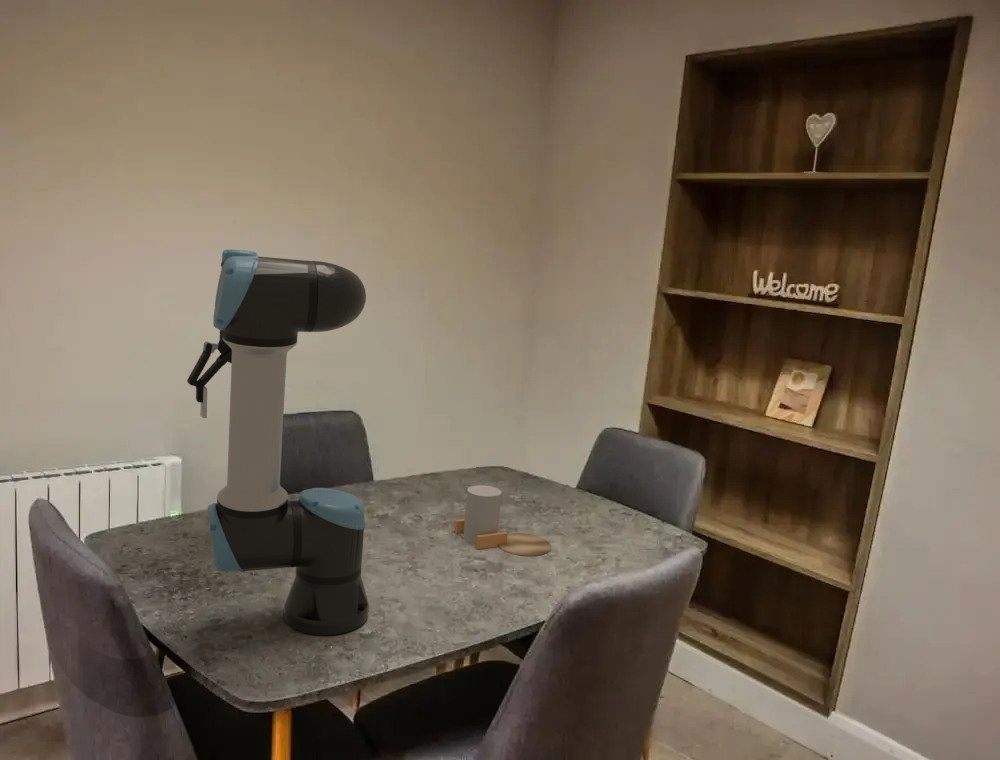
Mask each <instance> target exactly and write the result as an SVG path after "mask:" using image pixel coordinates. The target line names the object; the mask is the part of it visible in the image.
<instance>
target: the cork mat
mask: <svg viewBox="0 0 1000 760" xmlns="http://www.w3.org/2000/svg"><path fill="white" fill-rule="evenodd" d="M498 548H499V549H500V550H501V551H504V552H506V553H509V554H512V555H515V556H522V557H538V556H542V555H546V554H548V553H549V552H551V549H552V545H551V543H550V542H549V541H548V540H547V539H545V538H543V537H541V536H538V535H534V534H530V533H521V532H517V533H516V532H515V533H514V532H512V533H508V537H507V544H501V545H498Z"/></svg>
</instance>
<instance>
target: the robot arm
mask: <svg viewBox="0 0 1000 760" xmlns="http://www.w3.org/2000/svg"><path fill="white" fill-rule="evenodd" d="M220 267H221V270H220V274H219V279H218V283H217V287H216V288H217V289H216V294H215V295H216V296H215V301H214V311H213V324H212V325H213V327H214V328H215V329H217V330H219V341H218V343H211V342H209V341H205V342H204V344H203V349H202V353H200V356H199V357H198V359H197V362H196V364H195V365H194V367H193V369H192V371H191V372H190V374H189V376H188V378H187V380H186V382H187V383H188V384H189V386H192V387H195V400H196V402H197V403H200V417H202V419H207V418H208V417H207V415H208V388H207V387H206V385H207V384H208V383H209V382H210V381H211V379H213V377H214V376H215V375H216V374H217V373H218V372H219V371H220V369H222V368H223V366H225V365H226V364H227V363H230V364H231V367H230V369H231V371H230V395H229V398H230V399H229V423H228V449H227V450H228V452H227V453H228V454H227V477H226V478H227V479H226V485H225V486H224V487H223V488H222V489H220V490H219V491H218V493H217V497H216V502H215V503H214V502H213V503H212V504H209V505H208V506H207V514H208V523H209V530H210V541H211V549H212V556H213V563H214V564H213V565H214V566H215V569H217V570H218V571H220V572H223V573H229V572H234V573H236V572H240V573H245V572H250V571H251V572H252V571H262V570H265V571H266V570H274V569H275V570H276V569H288V568H289V569H290V568H295V577H294V579H293V582H292V585H291V586H290V590H289V593H288V595H287V597H286V599H285V603H284V610H283V612H284V613H283V619H284V621H285V623H286V624H287V625H288V626H289V627H291V629H294V630H295V631H297V632H300V633H303V634H308V635H314V636H331V635H332V636H334V635H335V636H336V635H340V634H345V633H349V632H352V631H354V630H356V629H358V628H360V627H361V626H363V625H364V624H365V623H366V622H367V619H368V618H369V606H370V605H369V599H368V596H367V593H366V589H365V586H364V582H363V579H362V566H363V565H362V564H363V549H364V548H363V547H364V532H365V528H366V522H365V520H366V519H365V507H364V504H363V502H362V501H361V499H360V498H358V497H356V496H355V495H353V494H351V493H348V492H346V491H343V490H339V489H335V488H328V487H327V488H326V487H312V488H309V489H304V490H302V491H301V492H300V493H299V496H298V497H297V499H295V500H289V493H288V491H286V489H284V488H283V487H282V486H281V484H280V483H281V465H282V464H281V463H282V449H283V447H282V446H283V432H284V431H283V427H284V414H285V413H284V410H285V394H286V393H285V391H286V390H285V389H286V373H287V357H288V352H289V351H291V349H293V348H294V347H296V345H298V333H303V332H304V333H320V332H321V333H322V332H329V331H334V330H338V329H340V328H341V329H342V328H343V327H344V326H345V327H346V326H347V325H349V324H351V323H352V322H354V321H355V320H357V318H358V317H359V316H360V315H361V314H362V312H363V311H364V308H365V306H366V305H365V304H366V301H367V293H366V287H365V285H364V283H363V281H362V280H361V279H360V277H359V276H358V275H357V274H355V273H354V271H352V270H351V269H348V268H346V267H343V266H340V265H338V264H334V263H330V262H325V261H321V260H320V261H318V260H302V259H293V258H292V259H290V258H281V257H269V256H259V255H258V253H257V252H256V251H254V250H253V251H252V250H245V249H229V248H228V249H227V248H226V249H224V250H223V251H222V255H221V262H220ZM216 350H218V352H219V353H220V355H219V356H217V358H216V360H214V362H213V363H212V364H211V365H210V366H209V368H207V369H206V371H205V372H204V373H203V374H202V372H203V371H204V370H205V369H204V368H205V367H206V365H207V363H208V362H209V360H210V357H211V355H212V354H214V353H215V351H216ZM201 374H202V375H201Z"/></svg>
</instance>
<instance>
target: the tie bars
mask: <svg viewBox="0 0 1000 760" xmlns="http://www.w3.org/2000/svg"><path fill="white" fill-rule="evenodd" d="M464 524H465V518H460V519H455V521H454V533H456V534H461V533H464ZM508 534H509V533H508V532H507V531H501V532H498V533H492V534H485V535H477V536H476V544H474V545H475V546H474V548H475V550H483V549H489V548H497V547H498V545H501V544H507V537H508ZM498 548H499V547H498Z"/></svg>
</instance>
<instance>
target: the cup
mask: <svg viewBox="0 0 1000 760" xmlns="http://www.w3.org/2000/svg"><path fill="white" fill-rule="evenodd" d="M466 490H467V492H466V503H465V515H464V519H465V524H464V532H463V540H464V541H465V542H466V543H470V544H473V545H476V536H477V535H485V534H492V533H499V523H500V512H501V503H502V490H501V489H499V488H498V487H494V486H491V485H485V484H484V485H479V484H477V485H472V486H469V487H468V488H467V489H466Z"/></svg>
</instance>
